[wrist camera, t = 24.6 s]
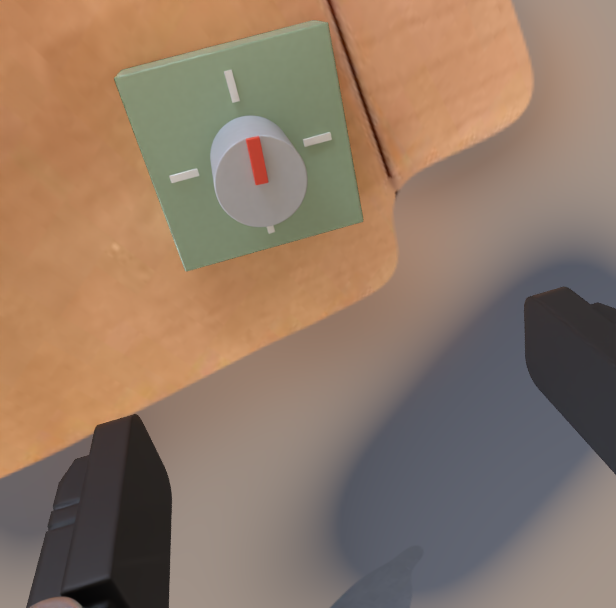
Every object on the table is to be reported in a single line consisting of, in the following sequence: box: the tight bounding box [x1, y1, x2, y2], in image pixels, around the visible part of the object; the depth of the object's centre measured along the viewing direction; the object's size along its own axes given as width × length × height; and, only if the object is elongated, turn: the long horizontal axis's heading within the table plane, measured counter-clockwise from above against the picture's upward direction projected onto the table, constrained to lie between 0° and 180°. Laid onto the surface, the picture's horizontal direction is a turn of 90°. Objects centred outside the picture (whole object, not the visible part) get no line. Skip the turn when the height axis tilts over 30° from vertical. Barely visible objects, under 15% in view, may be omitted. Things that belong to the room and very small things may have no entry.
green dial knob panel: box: [114, 20, 363, 271], centre depth 29 cm, size 10×10×3 cm
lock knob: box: [210, 116, 308, 227], centre depth 26 cm, size 4×4×5 cm
